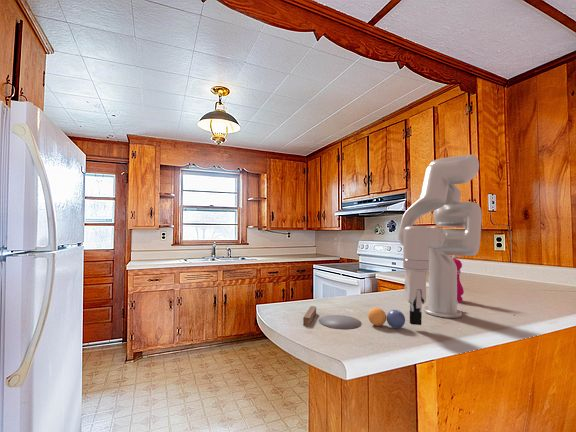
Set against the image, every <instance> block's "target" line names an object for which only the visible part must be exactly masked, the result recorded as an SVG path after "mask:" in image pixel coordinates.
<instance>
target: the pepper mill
mask: <svg viewBox="0 0 576 432" xmlns="http://www.w3.org/2000/svg"><path fill="white" fill-rule="evenodd" d="M457 257H458V256H457V255H451V258H452V260H453V261H454V262H455V264H456V266H457V301H458V303H462V302H463V297H462V295H464V292H465V291H464V287H463V285H462V282H461V281H460V279H461V277H460V275H461V269H462V267H463V264H462V261H461V260H459V259H457Z"/></svg>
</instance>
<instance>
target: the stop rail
mask: <svg viewBox="0 0 576 432" xmlns="http://www.w3.org/2000/svg"><path fill="white" fill-rule="evenodd" d="M316 315H317V306H313V305H311V306H310V307H309V308H308V310H307V311H306V312H305V314H304V315H303V317H302V319H303V321H302V324H303V326H307V327H310V325H311V323H312V321H313V320H314V318H315V316H316Z"/></svg>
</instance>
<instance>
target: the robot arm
mask: <svg viewBox="0 0 576 432" xmlns="http://www.w3.org/2000/svg"><path fill="white" fill-rule="evenodd" d="M479 169H480V162H479V159H478V157H477V156H476V155H474V154H465V155H455V156H450V157H440V158H437V159H434V160H432V161H431V162H430V163H429V165H428V166H427V167H426V169H425V173H424V177H423V181H422V185H421V186H422V187H421V190H420V196H419V198H418V199H417V200H416V201H415V202H413V203H412V204H411V205H410V206H409V207H408V208H407V210H406V211H404V213H403V215H402V217H401V221H400V225H399V229H398V241H399V243H400V245H401V246H402V247H403V248H402V249H403V250H402V251H403V252H402V253H403V254H402V255H403V256H402V258H403V260H402V262H403V264H402V265H403V267H402V270H404V271H405V275H404V276H405V277H404V278H405V279H404V292H403V293H404V298H405V300H406V301H407V303H409V324H410V325H412V326H413V325H415V326H422V314H423V312H422V309H423V311H424V313H426V314H428V315H431V316H435V317H439V318H447V319H448V318H449V319H451V318H452V319H457V318H462V316H463V312H462V311H461V310H459V309H458V305H459V302H458V301H457V266H456V264H455V262H454V261H453V260H452V259H453V258H452V256H453V255H455V256H462V257H463V256H464V257H472V256H476V255H477V254H478V253H479V251H480V246H481V233H482V223H483V221H482V220H483V215H482V208H481V207H480V205H479V204H478V203H477V202H475V201H474V202H473V201H461V195H462V194H461V189H460V188H459V187H458V186H457V185H460V184H461V185H462V184H463V185H464V184H467V183H469V182H470V181H472V180H473V178H475V177H476V176H477V175H478V174H479V173H478V172H479ZM431 212H433V223H434V224H435V225H436V226H434V225H426V226H425V225H414V224H415V222H416V221H417V220H418V219H420V218H421V217H423V216H424V215H427V214H429V213H431ZM441 227H443V228H441ZM454 228H455V229H454ZM457 228H458V229H457ZM459 228H460V229H459ZM463 228H464V229H463ZM426 272H428V305H426V306H424V308H422V306H423V305H425V303H426V302H427V277H426V276H427V275H426Z"/></svg>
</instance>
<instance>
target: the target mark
mask: <svg viewBox="0 0 576 432" xmlns="http://www.w3.org/2000/svg"><path fill="white" fill-rule="evenodd" d="M318 323H319V324H321V325H322V326H324V327H326V328H331V329H337V330H350V329H357V328H359V327H361V326H362V322H361V320H359V319H358V318H356V317H353V316H349V315H343V314H329V315H328V314H327V315H325V316H324V315H323V316H321V317H320V318H318Z"/></svg>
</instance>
